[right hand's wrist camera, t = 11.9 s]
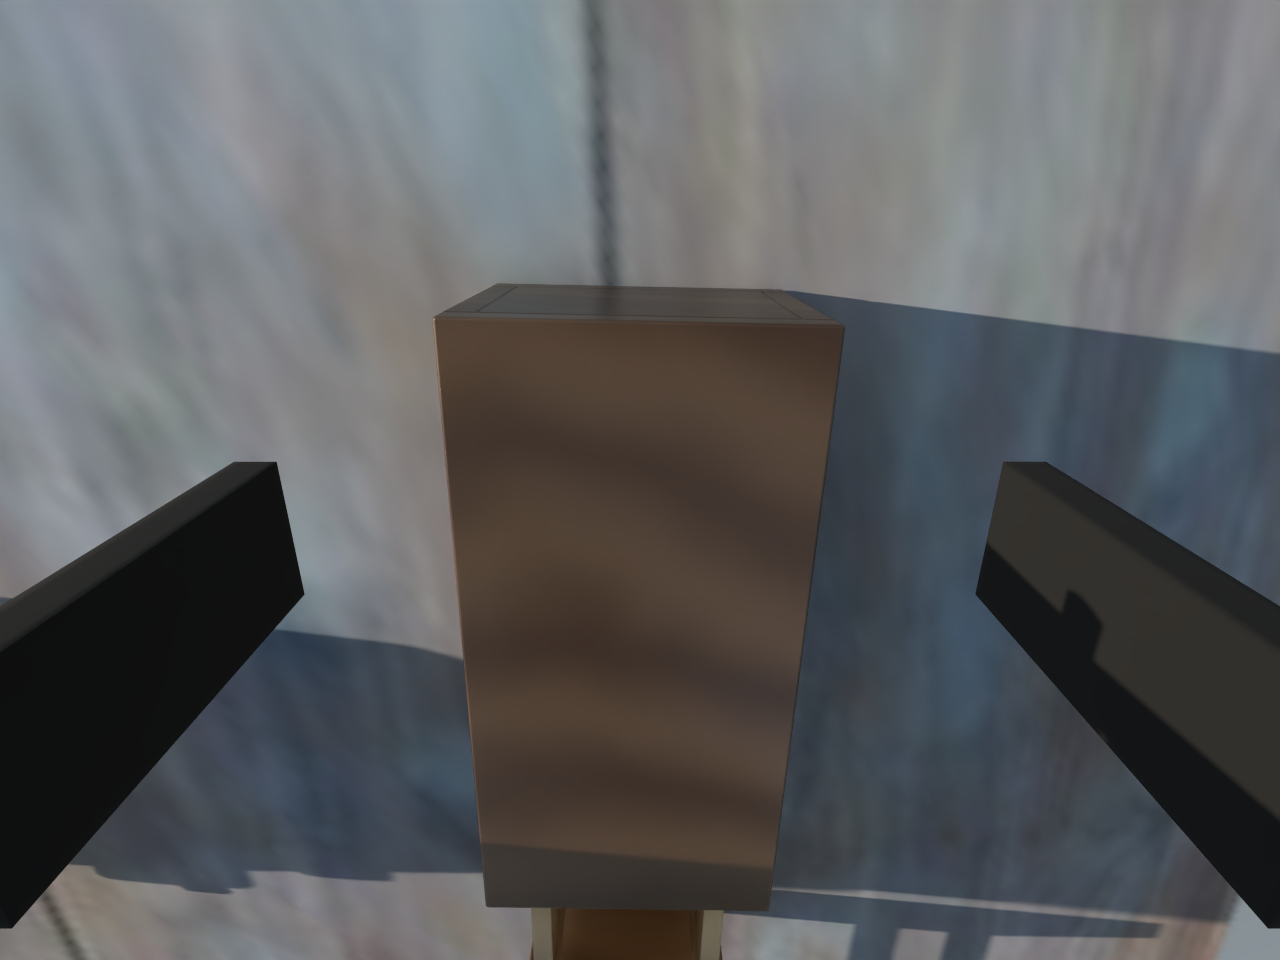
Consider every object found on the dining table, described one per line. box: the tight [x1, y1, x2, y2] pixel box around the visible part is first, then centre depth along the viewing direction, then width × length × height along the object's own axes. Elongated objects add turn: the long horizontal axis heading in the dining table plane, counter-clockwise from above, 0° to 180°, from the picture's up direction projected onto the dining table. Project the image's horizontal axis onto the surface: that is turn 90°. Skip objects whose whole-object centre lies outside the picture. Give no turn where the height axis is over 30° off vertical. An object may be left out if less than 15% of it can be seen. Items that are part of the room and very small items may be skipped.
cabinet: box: [433, 284, 845, 911], centre depth 25 cm, size 21×10×8 cm, turn 179°
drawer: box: [530, 908, 724, 960], centre depth 30 cm, size 26×9×6 cm, turn 179°
